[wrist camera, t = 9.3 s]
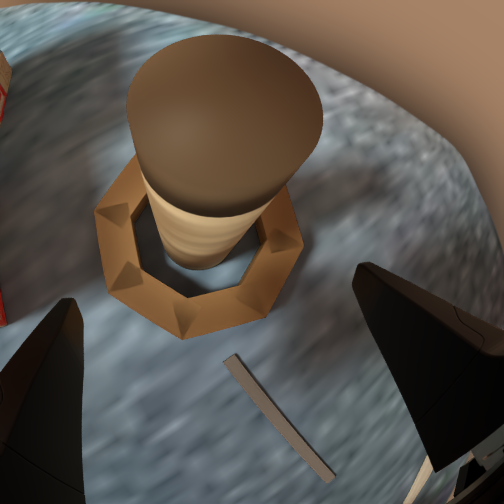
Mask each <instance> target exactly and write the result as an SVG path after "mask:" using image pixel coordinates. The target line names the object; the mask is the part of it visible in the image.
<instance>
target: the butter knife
mask: <svg viewBox="0 0 504 504" xmlns="http://www.w3.org/2000/svg"><path fill="white" fill-rule="evenodd" d="M432 470H433V467H432V465H431V462H430V460H429V457H428V455H427V456H426V458H425V460H424V463H423V465H422V467H421V469H420V471H419V473H418V475H417V477H416V479H415V481H414V483H413V485H412V488H411V490H410V491H409V493H408V495H407V497H406V499H405V501H404V503H403V504H412V502H413V501H414V499H415V498H416V496H417V495H418V493H419V492H420V490H421V488H422V487H423V485H424V484H425V482H426V481H427V479H428V477H429V475H430V474H431V472H432Z"/></svg>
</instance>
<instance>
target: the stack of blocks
mask: <svg viewBox="0 0 504 504" xmlns="http://www.w3.org/2000/svg"><path fill="white" fill-rule="evenodd" d="M11 75H12V69H11V67H10V66H9V64H8V62H7V60H6V58H5V56H4V54H3V52H2V51H1V50H0V126H1V122H2V118H3V112H4V106H5V101H6V96H7V92H8V88H9V83H10V79H11ZM6 325H7V322H6V317H5V313H4V308H3V302H2V297H1V290H0V327H3V326H6Z"/></svg>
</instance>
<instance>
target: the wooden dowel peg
mask: <svg viewBox="0 0 504 504" xmlns="http://www.w3.org/2000/svg"><path fill="white" fill-rule="evenodd" d="M126 108H127V118H128V122H129V126H130V130H131V134H132V139H133V143H134V147H135V150H136V154H137V158H138V162H139V166H140V169H141V173H142V177H143V180H144V184H145V187H146V191H147V194H148V198H149V201H150V205H151V208H152V211H153V215H154V218H155V221H156V224H157V228H158V231H159V234H160V237H161V240H162V243H163V246H164V249H165V251H166V253H167V254H168V256H169V257H170V258H171V259H172V260H173V261H174V262H175V263H176V264H178V265H179V266H181V267H183V268H186V269H189V270H206V269H209V268H212V267H214V266H216V265H218V264H219V263H220V262H222V261H223V260H224V259H225V257H226V256H227V255H228V254H229V252H230V251H231V250H232V249H233V247H234V246H235V245H236V244H237V243H238V241H239V240H240V239H241V238H242V236H243V235H244V234H245V233H246V232H247V230H248V229H249V228H250V227H251V225H252V224H253V223H254V222H255V221H256V219H257V218H258V217H259V216H260V214H261V213H262V212H263V211H264V210H265V208H266V207H267V206H268V205H269V204H270V202H271V201H272V200H273V199H274V198H275V196H276V195H277V194H278V193H279V191H280V190H281V189H282V188H283V187H284V185H285V184H286V183H287V182H288V181H289V179H290V178H291V177H292V176H293V175H294V173H295V172H296V171H297V170H298V169H299V167H300V166H301V165H302V164H303V163H304V162H305V160H306V159H307V158H308V157H309V156H310V154H311V153H312V152H313V150H314V149H315V147H316V145H317V143H318V141H319V138H320V136H321V132H322V127H323V110H322V104H321V101H320V97H319V95H318V92H317V90H316V88H315V86H314V85H313V83H312V81H311V80H310V78H309V77H308V76H307V74H306V73H305V72H304V71H303V70H302V69H301V68H300V67H299V66H298V65H297V64H296V63H295V62H294V61H293V60H291V59H290V58H289V57H288V56H286V55H285V54H283V53H281V52H280V51H278V50H276V49H275V48H273V47H271V46H269V45H266V44H264V43H261V42H259V41H256V40H252V39H249V38H244V37H240V36H233V35H203V36H197V37H192V38H188V39H184V40H181V41H178V42H176V43H173V44H171V45H169V46H167V47H165V48H163V49H162V50H160V51H159V52H157V53H156V54H154V55H153V56H152V57H151V58H150V59H148V60H147V61H146V62H145V63H144V64H143V66H142V67H141V68H140V69H139V71H138V72H137V74H136V75H135V77H134V79H133V81H132V83H131V85H130V88H129V92H128V95H127V104H126Z"/></svg>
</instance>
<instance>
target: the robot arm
mask: <svg viewBox="0 0 504 504" xmlns="http://www.w3.org/2000/svg"><path fill="white" fill-rule="evenodd" d="M352 288H353V291H354V293H355V296H356V298H357V301H358V303H359V306H360V308H361V311H362V313H363V316H364V318H365V321H366V323H367V325H368V327H369V329H370V331H371V333H372V335H373V337H374V339H375V341H376V343H377V345H378V347H379V349H380V351H381V353H382V355H383V357H384V359H385V361H386V363H387V365H388V367H389V370H390V372H391V374H392V376H393V378H394V380H395V382H396V384H397V386H398V388H399V391H400V393H401V395H402V397H403V399H404V401H405V404H406V406H407V408H408V410H409V412H410V415H411V417H412V419H413V422H414V424H415V426H416V429H417V431H418V433H419V436H420V438H421V440H422V443H423V445H424V448H425V450H426V452H427V455H428V457H429V460H430V462H431V465H432V467H433V470H434V471H435V473H437V472H438V471H440V470H442V469H443V468H445V467H446V466H448V465H449V464H451V463H452V462H454V461H456V460H457V459H458V458H460V457H461V456H463V455H464V454H466V453H467V452H469V451H470V450H471V452H472V454H473V456H474V458H472V459H471V460H470V461H468V462H467V463H466V464H464V465H463V466H462V467H460V470H459V475H458V479H457V483H456V487H455V491H454V499H452V500H451V501H449V502H448V503H446V504H504V330H502V329H500V328H498V327H495V326H493V325H491V324H489V323H487V322H485V321H483V320H481V319H479V318H477V317H475V316H473V315H471V314H469V313H467V312H465V311H463V310H461V309H459V308H458V307H456V306H453V305H452V304H450V303H448V302H447V301H445V300H443V299H441V298H439V297H437V296H435V295H433V294H432V293H430V292H428V291H426V290H424V289H422V288H420V287H418V286H416V285H414V284H412V283H411V282H409V281H407V280H405V279H403V278H401V277H399V276H397V275H395V274H393V273H391V272H389V271H387V270H385V269H383V268H381V267H379V266H377V265H375V264H373V263H371V262H363V263H359V264H358V265H357V268H356V271H355V274H354V278H353V281H352ZM83 377H84V323H83V318H82V315H81V313H80V310H79V308H78V305H77V303H76V301H75V299H74V298H72V297H71V298H62V299H61V300H59V302H58V303H57V304H56V305H55V306H54V307H53V308H52V309H51V311H50V312H49V313H48V314H47V315H46V316H45V317H44V319H43V320H42V321H41V322H40V323H39V324H38V326H37V327H36V328H35V329H34V330H33V332H32V333H31V334H30V335H29V336H28V338H27V339H26V340H25V341H24V342H23V344H22V345H21V346H20V347H19V349H18V350H17V351H16V352H15V354H14V355H13V356H12V358H11V359H10V360H9V361H8V363H7V364H6V365H5V367H4V368H3V369H2V371H1V372H0V504H86V502H85V495H84V481H83V465H82V394H83Z"/></svg>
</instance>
